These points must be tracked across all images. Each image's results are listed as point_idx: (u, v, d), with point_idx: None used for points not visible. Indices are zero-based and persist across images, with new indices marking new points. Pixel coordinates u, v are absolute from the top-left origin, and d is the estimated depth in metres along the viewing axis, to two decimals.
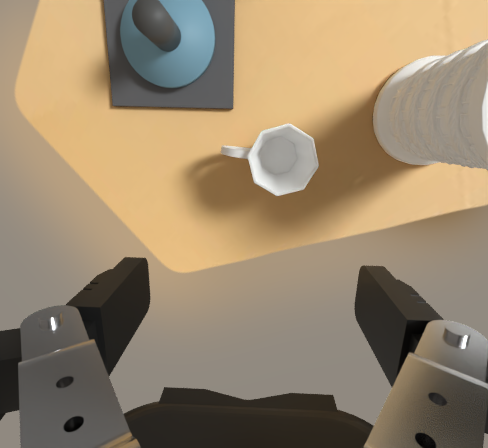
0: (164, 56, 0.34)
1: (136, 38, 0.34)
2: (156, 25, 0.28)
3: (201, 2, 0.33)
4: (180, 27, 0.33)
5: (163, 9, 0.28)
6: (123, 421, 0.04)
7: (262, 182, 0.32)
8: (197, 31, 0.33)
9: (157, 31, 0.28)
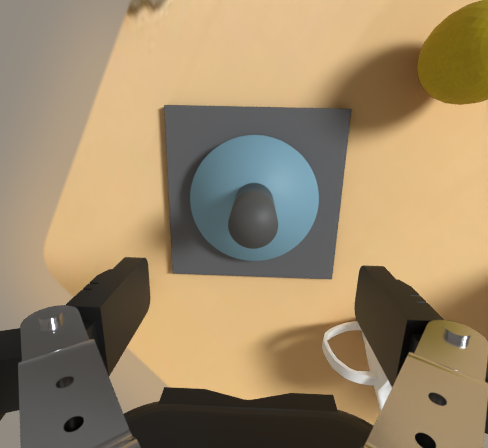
0: None
1: (211, 204, 0.25)
2: (263, 237, 0.19)
3: (304, 162, 0.24)
4: (273, 192, 0.24)
5: (275, 217, 0.19)
6: (123, 421, 0.04)
7: None
8: (296, 196, 0.24)
9: (263, 245, 0.19)
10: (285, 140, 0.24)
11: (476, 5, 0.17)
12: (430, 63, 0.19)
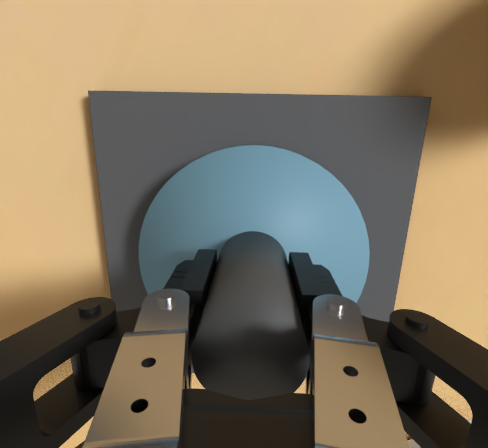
0: None
1: None
2: (274, 384, 0.08)
3: (345, 195, 0.13)
4: (286, 247, 0.14)
5: (302, 343, 0.08)
6: (177, 421, 0.04)
7: None
8: (329, 254, 0.14)
9: None
10: (308, 154, 0.14)
11: None
12: None
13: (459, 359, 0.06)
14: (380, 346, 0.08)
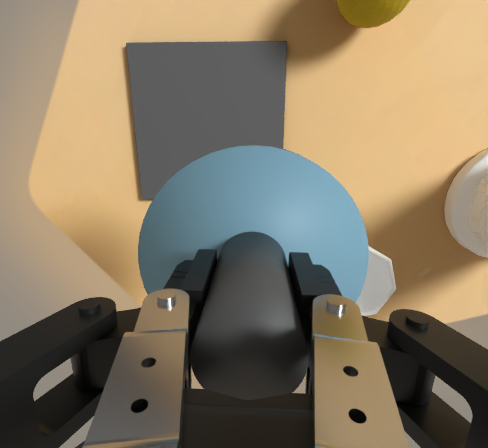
0: None
1: None
2: (272, 384, 0.08)
3: (344, 195, 0.13)
4: (286, 247, 0.14)
5: (301, 343, 0.08)
6: (177, 421, 0.04)
7: None
8: (328, 255, 0.14)
9: None
10: (232, 71, 0.28)
11: None
12: None
13: (459, 359, 0.06)
14: (380, 346, 0.08)
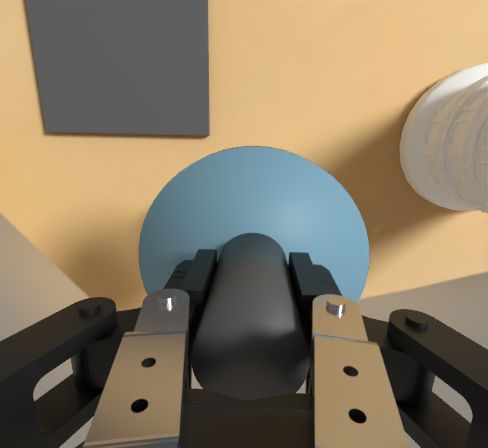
0: None
1: None
2: (273, 387, 0.08)
3: (345, 196, 0.13)
4: (286, 248, 0.14)
5: (302, 345, 0.08)
6: (177, 421, 0.04)
7: None
8: (329, 256, 0.14)
9: None
10: None
11: None
12: None
13: (459, 359, 0.06)
14: (380, 346, 0.08)
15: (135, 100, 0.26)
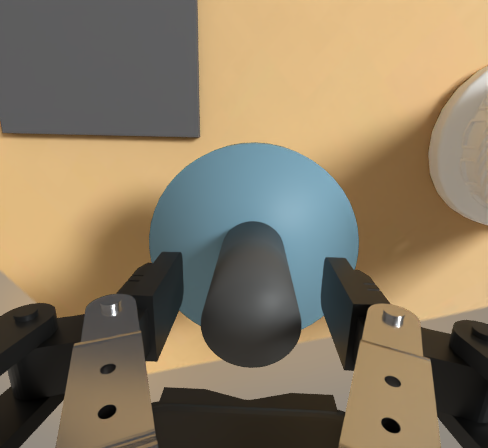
0: None
1: (184, 255, 0.15)
2: (271, 347, 0.10)
3: (336, 188, 0.14)
4: (283, 235, 0.15)
5: (295, 311, 0.09)
6: (151, 418, 0.04)
7: None
8: (322, 242, 0.15)
9: (272, 361, 0.10)
10: None
11: None
12: None
13: None
14: (446, 360, 0.07)
15: (109, 95, 0.22)
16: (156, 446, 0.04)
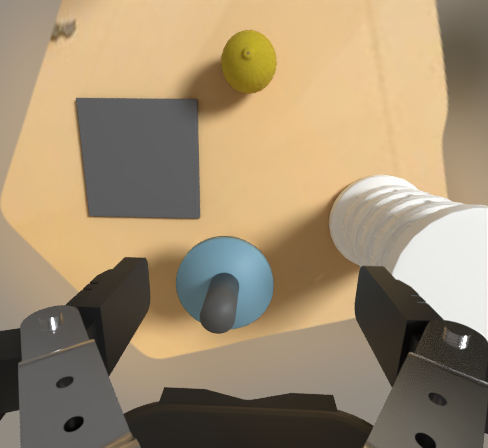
0: None
1: (192, 288, 0.33)
2: (225, 325, 0.27)
3: (261, 258, 0.31)
4: (238, 279, 0.32)
5: (232, 312, 0.26)
6: (123, 421, 0.04)
7: None
8: (256, 282, 0.32)
9: (225, 330, 0.27)
10: (156, 120, 0.37)
11: (234, 35, 0.30)
12: (222, 68, 0.32)
13: None
14: None
15: (150, 196, 0.39)
16: (137, 444, 0.04)
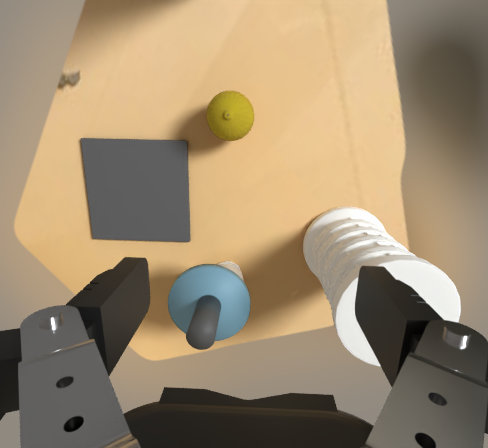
0: None
1: (182, 307, 0.38)
2: (206, 343, 0.33)
3: (239, 283, 0.37)
4: (220, 300, 0.38)
5: (213, 333, 0.32)
6: (123, 421, 0.04)
7: None
8: (235, 302, 0.38)
9: (207, 347, 0.33)
10: (151, 158, 0.42)
11: (217, 95, 0.35)
12: (207, 120, 0.37)
13: None
14: None
15: (146, 222, 0.45)
16: (137, 444, 0.04)
